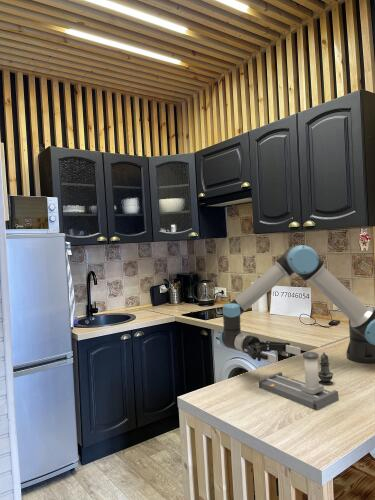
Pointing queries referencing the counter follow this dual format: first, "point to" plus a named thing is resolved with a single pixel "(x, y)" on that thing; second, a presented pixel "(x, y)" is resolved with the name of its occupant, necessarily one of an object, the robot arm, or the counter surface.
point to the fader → (311, 373)
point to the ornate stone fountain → (325, 371)
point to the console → (297, 391)
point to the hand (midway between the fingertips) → (288, 355)
